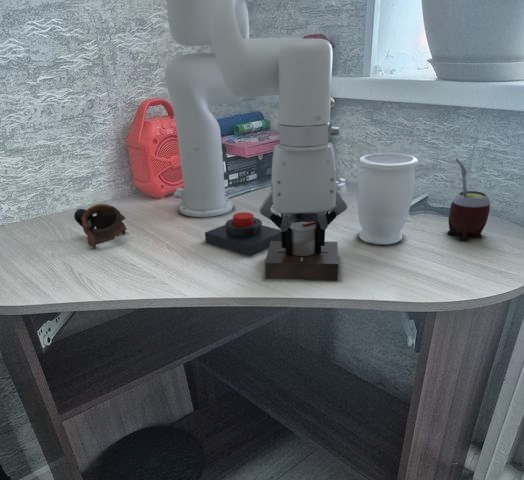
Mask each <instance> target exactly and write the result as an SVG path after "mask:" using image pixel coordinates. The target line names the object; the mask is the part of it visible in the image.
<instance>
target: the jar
mask: <svg viewBox="0 0 524 480" xmlns="http://www.w3.org/2000/svg"><path fill="white" fill-rule="evenodd" d="M418 164H419V158H417V156H415V155H411V154H406V153H399V152H378V153H377V152H376V153H370V154H365V155H363V156H360V157H359V165H360V166H361V170H360V173H359V177H358V182H357V188H356V189H357V191H356V202H357V208H358V209H357V214H358V215H357V216H358V222H359V225H360V227H361V230H360V231H359V235H358V237H359V239H360V240H361V241H363V242H365V243H368V244H372V245H379V246H381V245H382V246H385V245H387V246H388V245H393V244H397V243H398V242H400V241H401V240H402V239H403V233H402V232H401V231H402V229H403V228H404V227H405V224H406V223H407V220H408V217H409V213H410V210H411V208H412V207H411V206H412V204H413V200H414V194H415V187H416V186H415V185H416V184H415V182H416V181H415V180H416V178H415V171H414V170H415V168H416V167H417V166H418Z"/></svg>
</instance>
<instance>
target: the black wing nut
mask: <svg viewBox="0 0 524 480" xmlns="http://www.w3.org/2000/svg"><path fill="white" fill-rule="evenodd" d="M326 213H327V211H325V214H326ZM296 222H315V225H316V224H317V222H318V220H317V216H316V212H311V213H292V214H291V217H290V221H289V225H291V224H293V223H296Z"/></svg>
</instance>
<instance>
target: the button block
mask: <svg viewBox="0 0 524 480" xmlns="http://www.w3.org/2000/svg"><path fill="white" fill-rule="evenodd" d="M204 238H205V239H204V240H205V243H206V244H209V245H211V246H214V247H218V248H222V249H224V250H228V251H231V252H234V253H237V254H240V255H243V256H247V257H252V256H254V255H257V254H259V253H260V252H263V251H265V250H267V249H269V246H270V242H271V241H281V229H280V228H275V227H271V226H267V225H263V222H262V220H260V218H257V217H254V224H253V225H251V226H245V227H239V226H234V225H233V218H231V219H228V220H227V221H225V224H223V225H221V226H217V227H215V228H213V229H210V230H208V231H205V232H204Z"/></svg>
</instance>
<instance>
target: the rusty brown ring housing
mask: <svg viewBox="0 0 524 480" xmlns="http://www.w3.org/2000/svg"><path fill="white" fill-rule="evenodd" d="M73 217H74V220H75V221H76V222H77V224H78V225H79V226H80V227H82V230H83V232H84V234H86V238H87V240H86V241H87V244H88V246H89V247H90V248H93V249H96V247H97V245H100V244H101V245H102V244H104V243H107V242H110V241H113V240H114V239H116V237H118V236H120V234H121V233H122V234H124V235H125V234H126V231H127V230H128V228H127V227H126V225H125V223H124V222H123V221H125V220H126V216H125V215H124V214H122V213H121V212H120V210H119V209H118V208H116V207H115V206H113V205H111V204H106V203H102V204H100V203H99V204H94V205H92V206H90V207H89V208H87V209H86V208H85V209H84V208H78V209H76V211H75V212H74V214H73Z"/></svg>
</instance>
